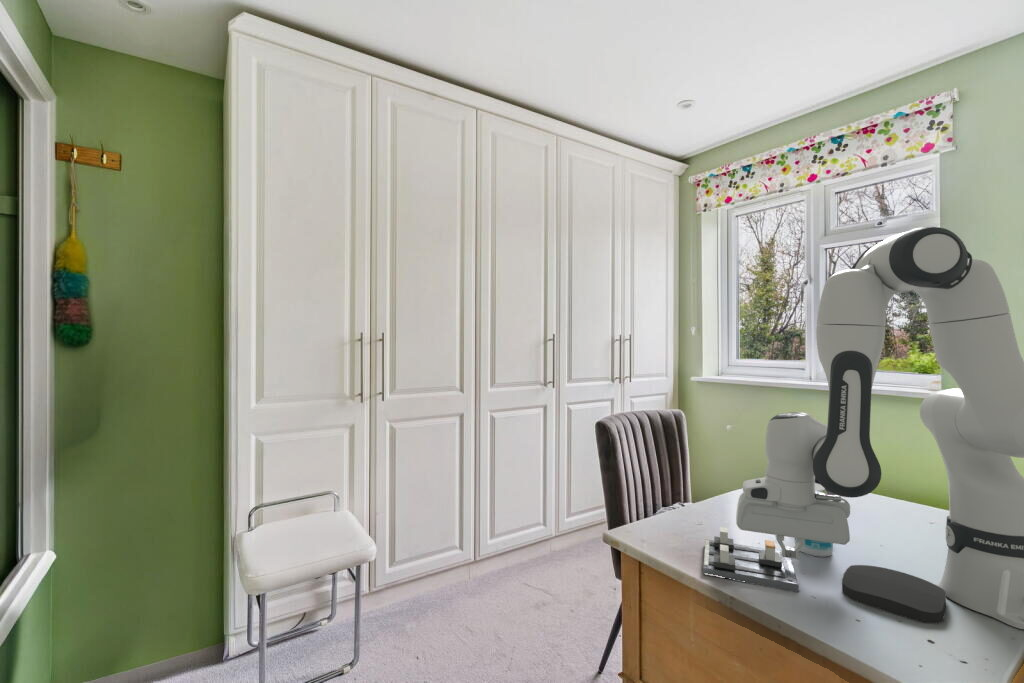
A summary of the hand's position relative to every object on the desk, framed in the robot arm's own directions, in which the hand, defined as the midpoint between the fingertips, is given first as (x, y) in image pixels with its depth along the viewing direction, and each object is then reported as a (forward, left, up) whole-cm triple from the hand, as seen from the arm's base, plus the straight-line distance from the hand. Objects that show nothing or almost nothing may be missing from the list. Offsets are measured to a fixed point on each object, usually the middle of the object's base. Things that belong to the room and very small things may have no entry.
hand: (790, 557), depth 97 cm
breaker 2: (+12, +5, -2) cm, 14 cm away
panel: (+8, 0, -4) cm, 9 cm away
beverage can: (-9, -29, -4) cm, 30 cm away
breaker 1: (+13, -5, -2) cm, 14 cm away
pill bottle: (-7, -15, -4) cm, 16 cm away
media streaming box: (-17, +2, -4) cm, 17 cm away
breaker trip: (+4, 0, -2) cm, 4 cm away
